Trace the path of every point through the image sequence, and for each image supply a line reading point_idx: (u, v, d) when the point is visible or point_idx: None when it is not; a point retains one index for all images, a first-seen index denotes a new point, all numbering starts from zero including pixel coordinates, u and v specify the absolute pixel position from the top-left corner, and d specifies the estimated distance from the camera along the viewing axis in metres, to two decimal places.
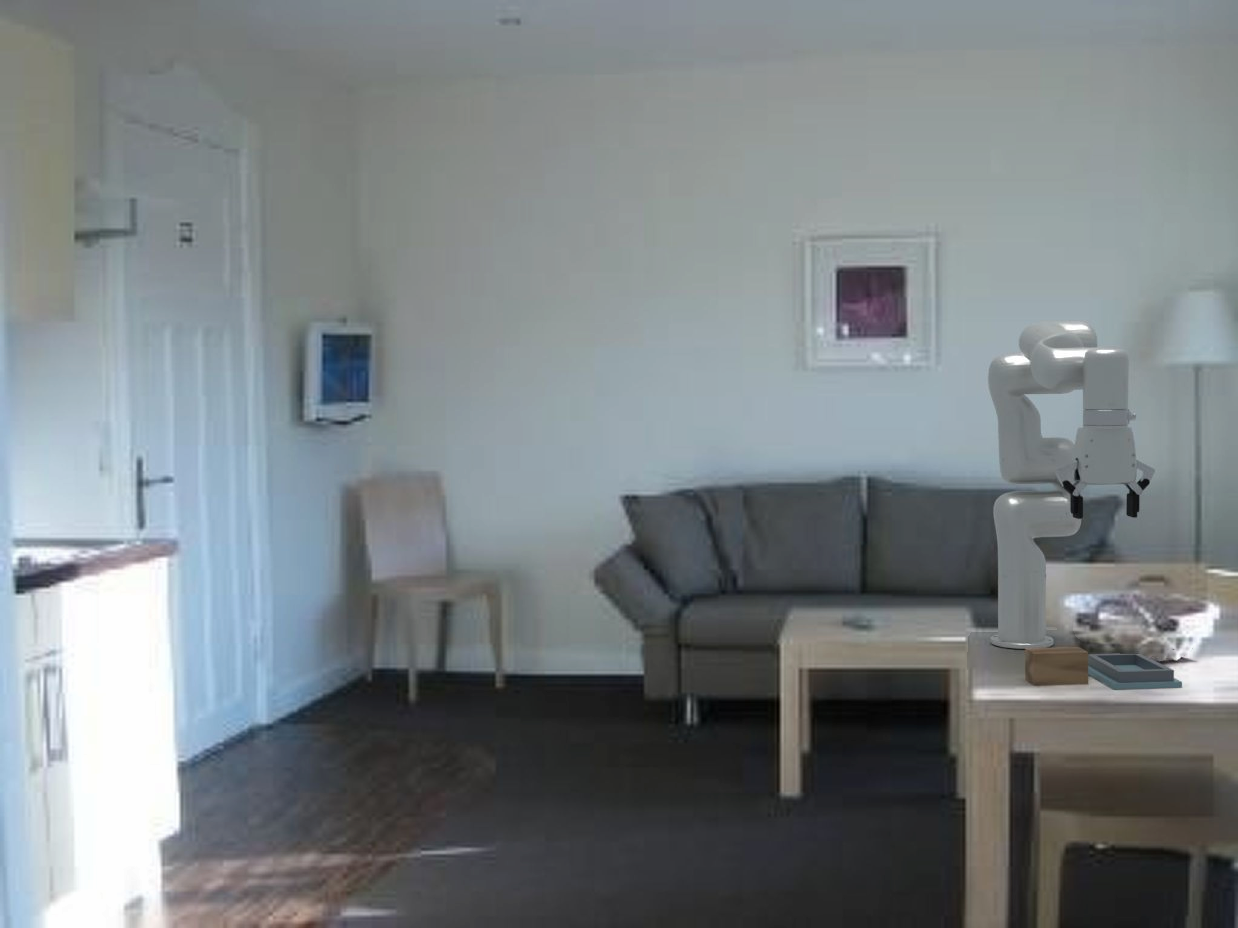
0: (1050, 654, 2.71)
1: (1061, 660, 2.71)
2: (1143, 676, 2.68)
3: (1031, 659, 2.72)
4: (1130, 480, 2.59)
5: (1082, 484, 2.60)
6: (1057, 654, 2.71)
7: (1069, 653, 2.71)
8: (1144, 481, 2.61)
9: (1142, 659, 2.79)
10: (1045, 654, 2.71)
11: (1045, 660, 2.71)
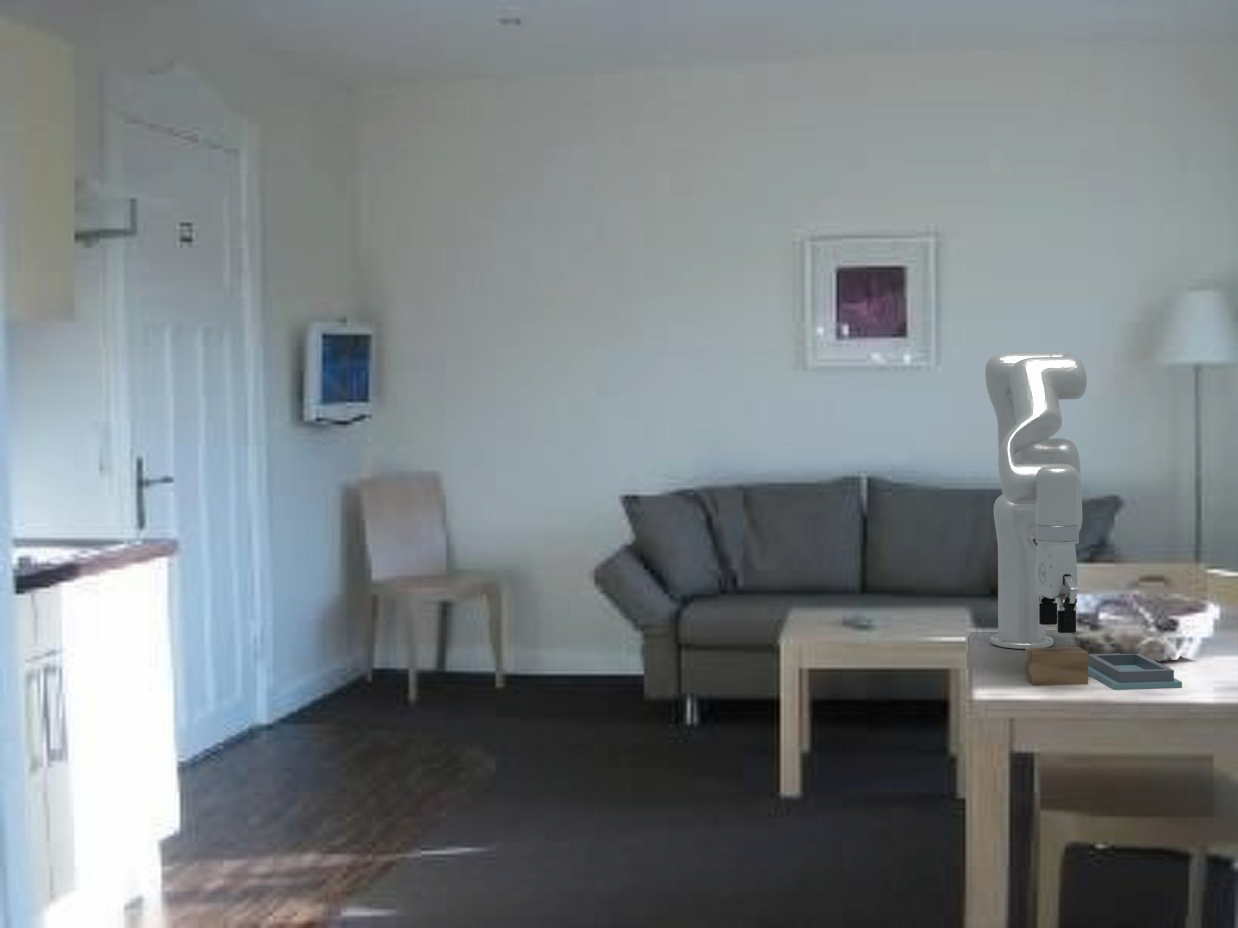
0: (1050, 654, 2.71)
1: (1061, 660, 2.71)
2: (1143, 676, 2.68)
3: (1030, 659, 2.72)
4: None
5: None
6: (1057, 654, 2.71)
7: (1069, 653, 2.71)
8: None
9: (1142, 659, 2.79)
10: (1044, 654, 2.71)
11: (1045, 660, 2.71)
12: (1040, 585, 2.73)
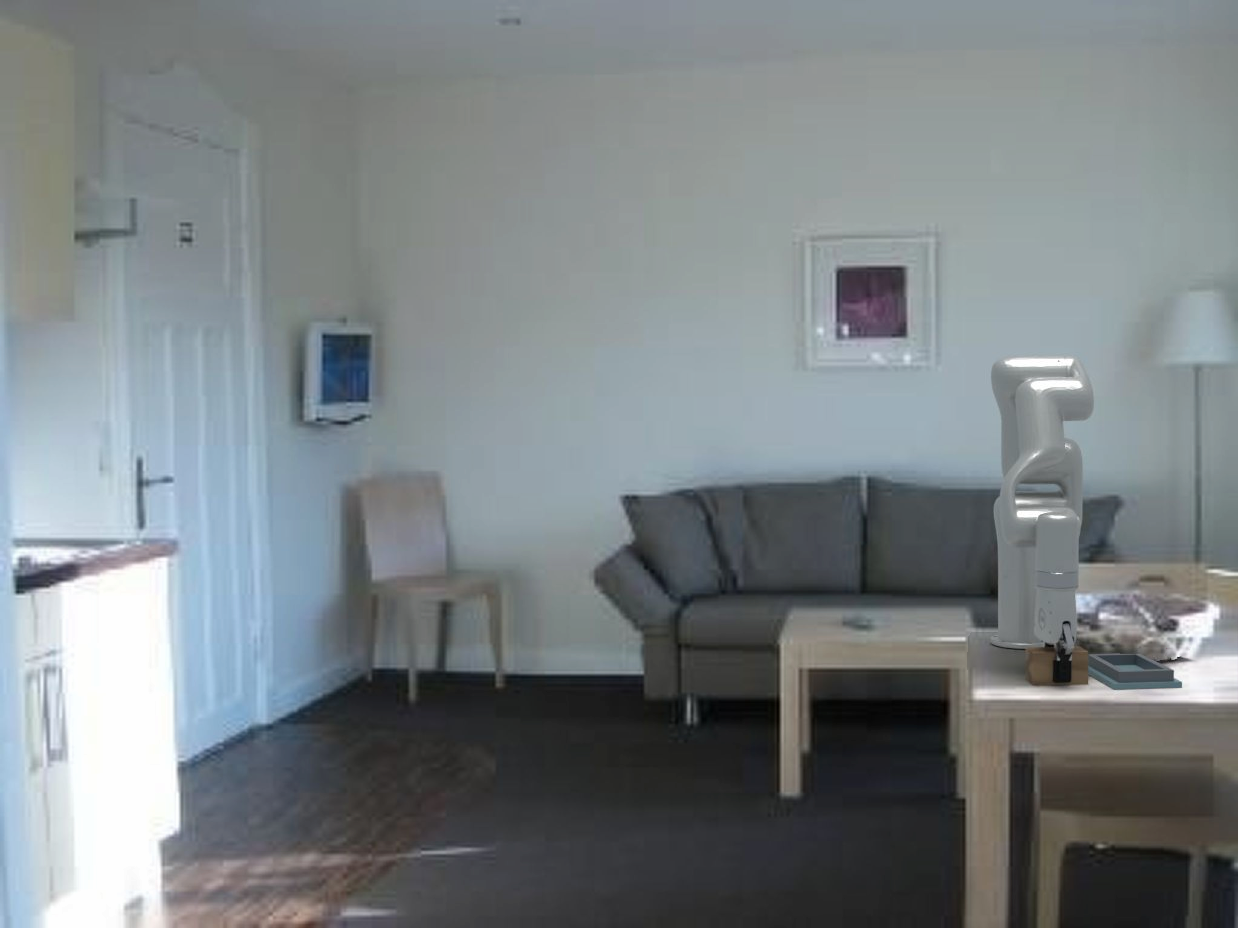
0: (1050, 653, 2.71)
1: None
2: (1143, 676, 2.68)
3: (1031, 658, 2.72)
4: None
5: None
6: None
7: None
8: None
9: (1142, 659, 2.79)
10: (1045, 653, 2.71)
11: (1045, 659, 2.71)
12: (1040, 630, 2.74)
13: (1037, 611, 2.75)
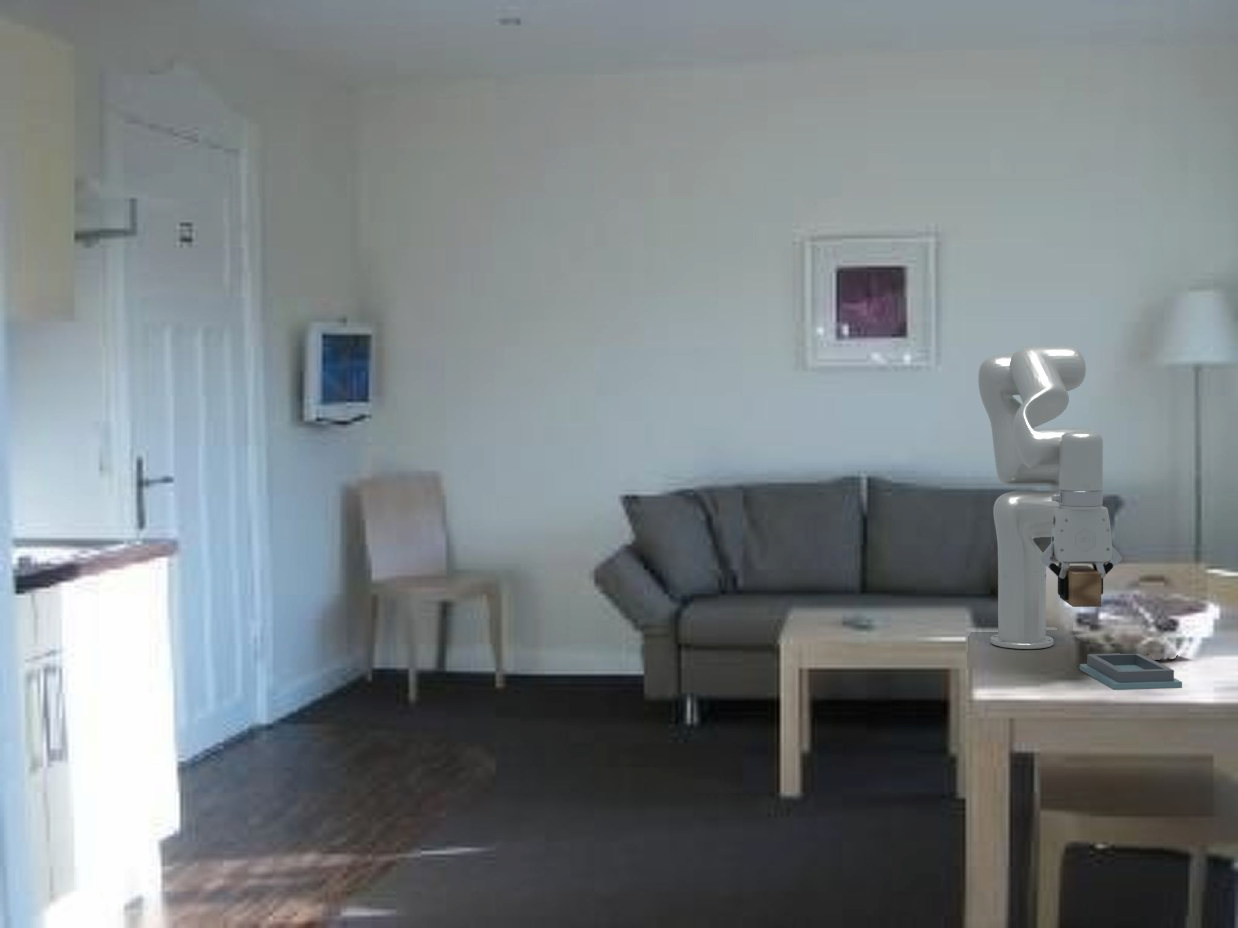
0: (1097, 572, 2.70)
1: None
2: (1143, 676, 2.68)
3: (1093, 581, 2.68)
4: None
5: (1095, 563, 2.74)
6: (1095, 571, 2.72)
7: (1091, 569, 2.74)
8: None
9: (1142, 659, 2.79)
10: (1098, 572, 2.69)
11: None
12: (1080, 552, 2.69)
13: (1071, 535, 2.69)
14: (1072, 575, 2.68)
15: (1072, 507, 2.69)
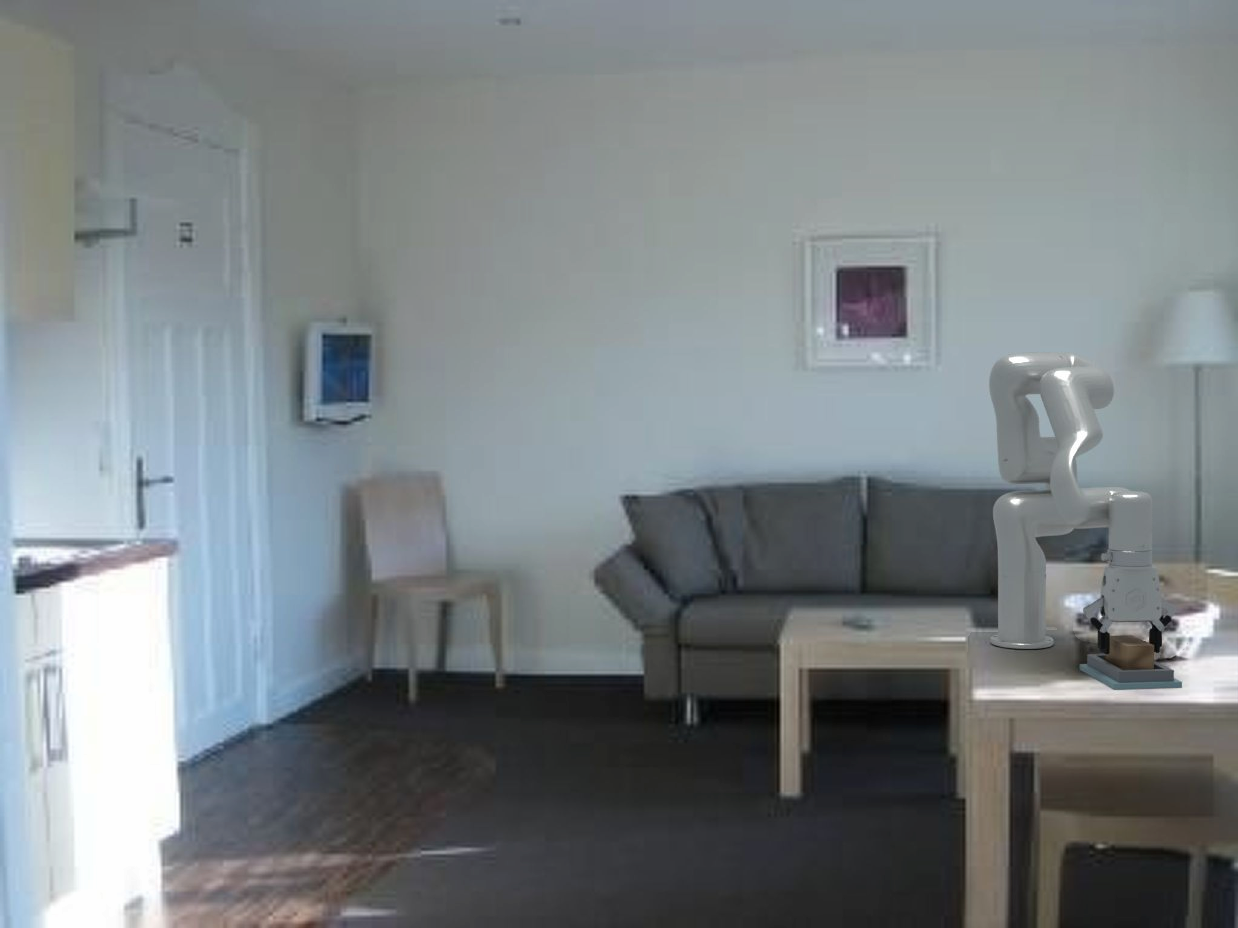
0: None
1: None
2: (1143, 676, 2.68)
3: (1146, 653, 2.70)
4: (1105, 614, 2.76)
5: None
6: None
7: (1139, 639, 2.77)
8: None
9: None
10: None
11: None
12: (1131, 612, 2.72)
13: (1122, 594, 2.71)
14: (1126, 647, 2.70)
15: (1123, 567, 2.71)
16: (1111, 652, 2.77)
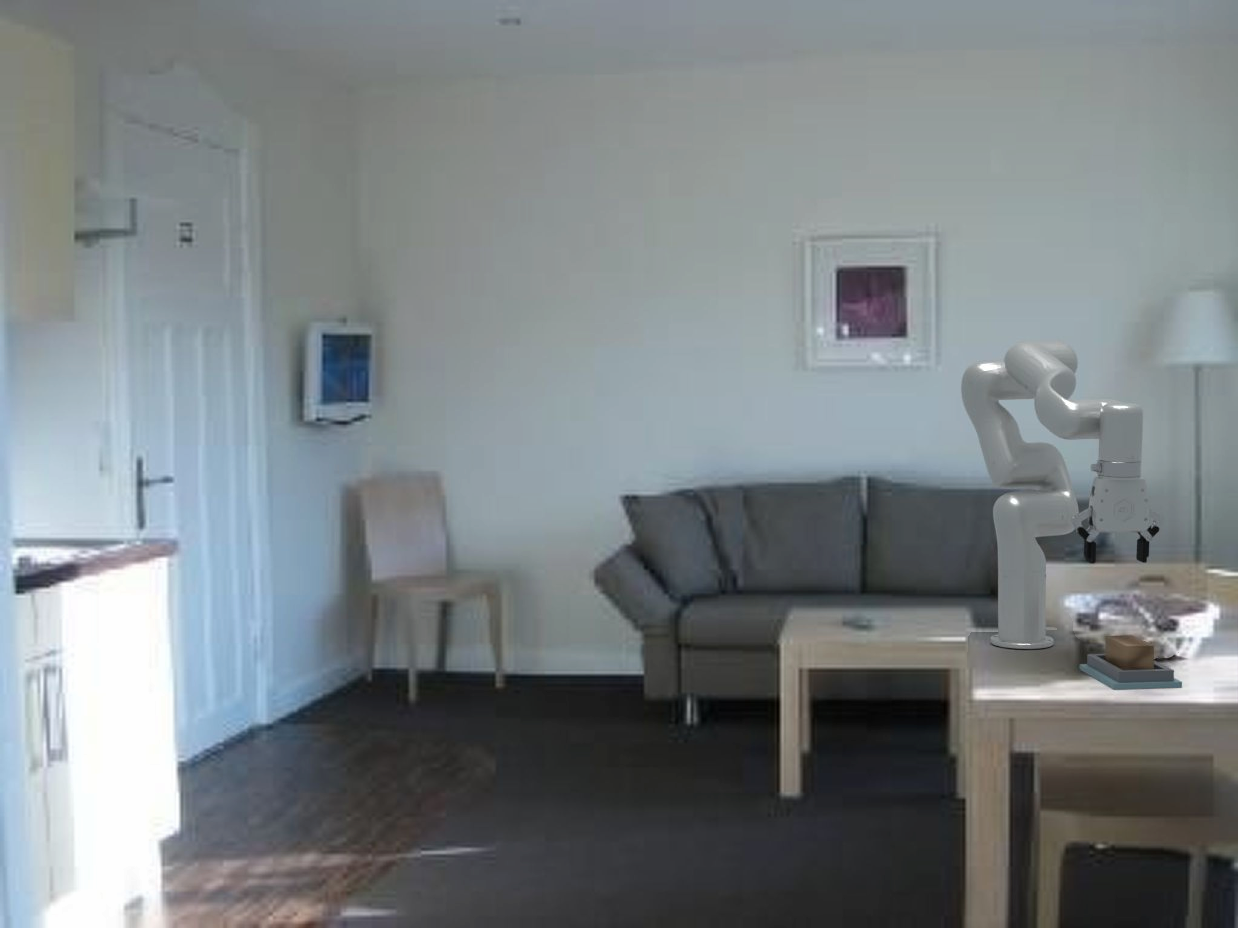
0: None
1: None
2: (1143, 676, 2.68)
3: (1146, 653, 2.70)
4: None
5: None
6: None
7: (1139, 639, 2.77)
8: None
9: None
10: None
11: None
12: (1119, 522, 2.73)
13: (1110, 505, 2.73)
14: (1126, 647, 2.70)
15: (1112, 478, 2.72)
16: (1111, 652, 2.77)
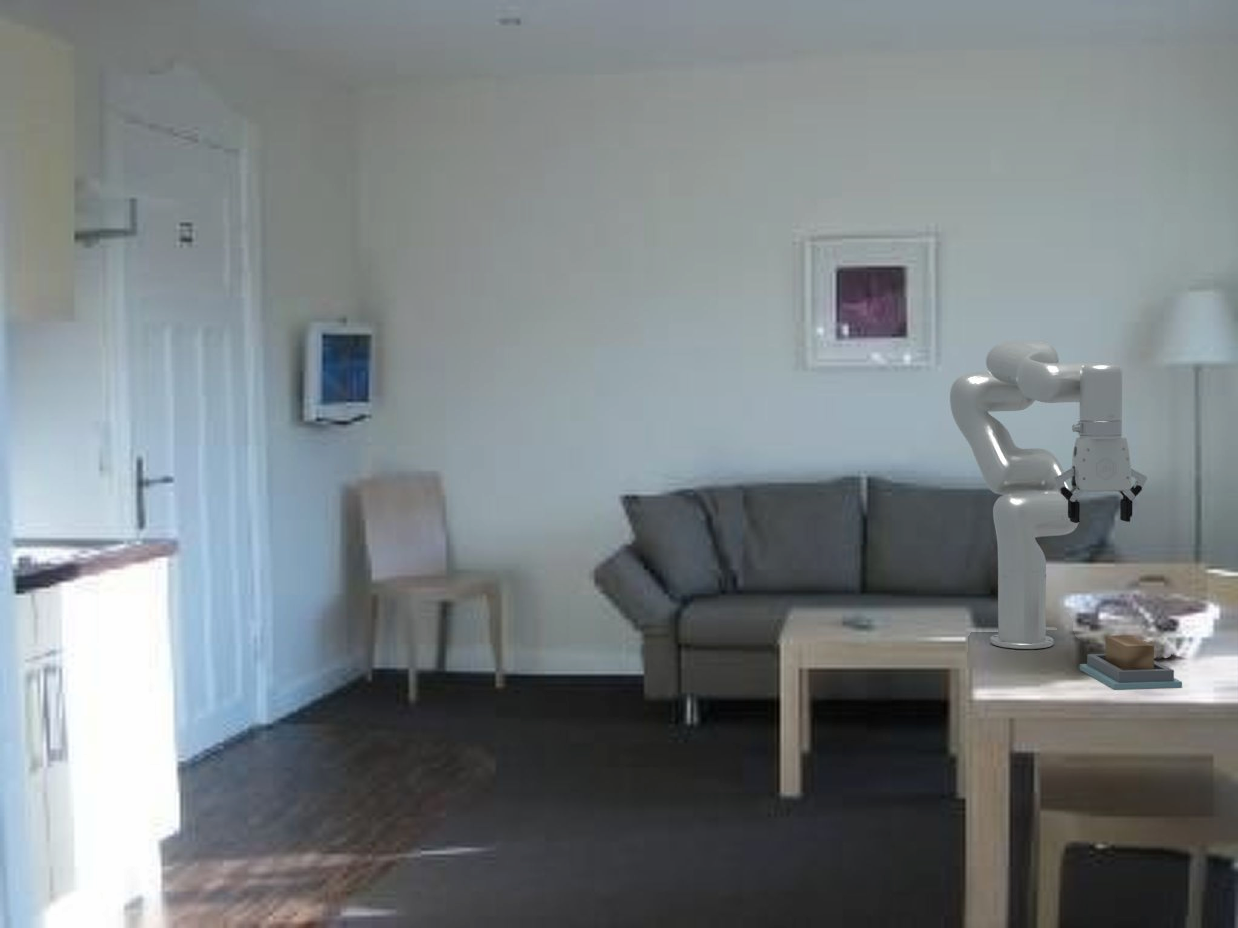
0: None
1: None
2: (1143, 676, 2.68)
3: (1146, 653, 2.70)
4: None
5: None
6: None
7: (1139, 639, 2.77)
8: None
9: None
10: None
11: None
12: (1101, 481, 2.77)
13: (1092, 464, 2.77)
14: (1126, 647, 2.70)
15: (1094, 437, 2.76)
16: (1111, 652, 2.77)
